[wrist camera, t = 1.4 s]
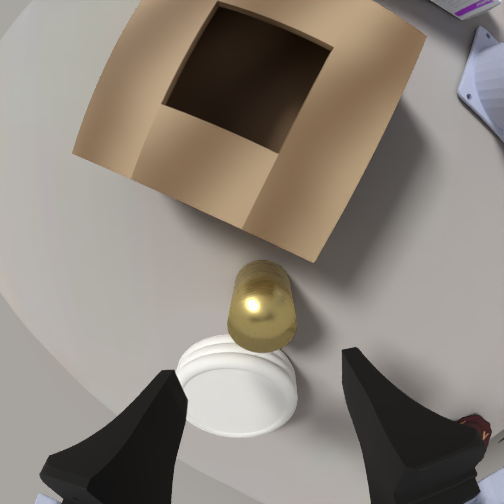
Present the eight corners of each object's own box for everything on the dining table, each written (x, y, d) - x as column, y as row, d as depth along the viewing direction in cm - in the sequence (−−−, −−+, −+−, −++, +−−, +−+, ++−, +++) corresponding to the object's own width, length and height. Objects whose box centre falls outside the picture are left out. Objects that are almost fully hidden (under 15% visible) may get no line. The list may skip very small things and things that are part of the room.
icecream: (426, 470, 21) (458, 475, 26) (487, 444, 18) (502, 454, 22) (420, 419, 27) (452, 437, 31) (474, 391, 23) (494, 416, 28)
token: (299, 274, 20) (309, 312, 16) (274, 316, 22) (276, 361, 17) (249, 251, 20) (245, 285, 15) (226, 296, 21) (217, 338, 17)
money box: (377, 65, 15) (426, 36, 9) (296, 222, 19) (313, 263, 13) (209, -8, 14) (187, -62, 7) (130, 147, 18) (72, 153, 11)
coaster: (211, 419, 27) (207, 446, 23) (157, 348, 24) (145, 376, 20) (309, 396, 25) (313, 425, 22) (270, 314, 22) (271, 343, 19)
